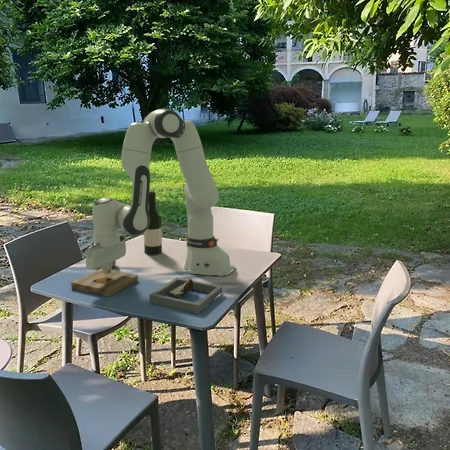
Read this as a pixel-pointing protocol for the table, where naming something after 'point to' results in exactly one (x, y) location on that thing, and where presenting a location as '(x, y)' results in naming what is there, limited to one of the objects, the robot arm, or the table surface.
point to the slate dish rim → (161, 299)
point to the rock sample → (182, 289)
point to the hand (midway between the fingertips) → (107, 273)
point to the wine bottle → (153, 229)
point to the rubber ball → (101, 280)
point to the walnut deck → (112, 286)
